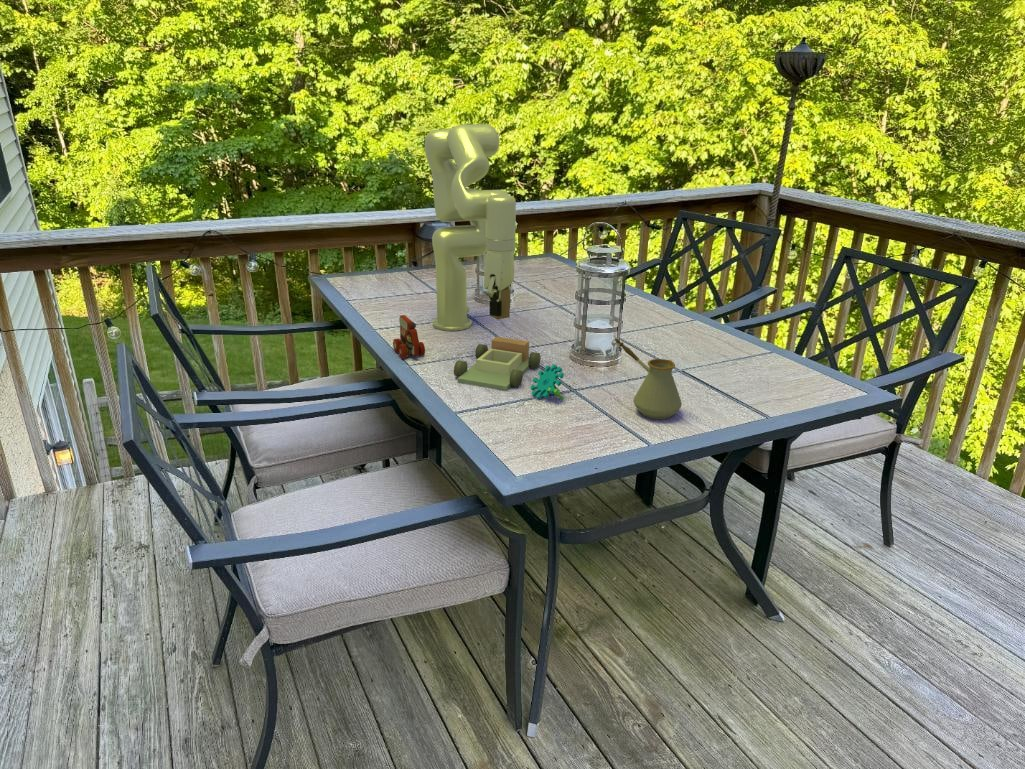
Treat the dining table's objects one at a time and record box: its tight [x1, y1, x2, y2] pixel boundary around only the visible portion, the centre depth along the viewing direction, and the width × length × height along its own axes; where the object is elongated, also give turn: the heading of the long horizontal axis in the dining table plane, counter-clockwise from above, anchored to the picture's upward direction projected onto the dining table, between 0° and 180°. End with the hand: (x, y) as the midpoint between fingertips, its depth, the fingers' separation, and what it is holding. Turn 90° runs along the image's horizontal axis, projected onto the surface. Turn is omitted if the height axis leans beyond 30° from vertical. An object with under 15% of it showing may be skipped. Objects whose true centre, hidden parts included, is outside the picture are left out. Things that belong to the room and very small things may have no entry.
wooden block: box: [489, 287, 511, 320], centre depth 194 cm, size 4×4×8 cm
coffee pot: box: [611, 337, 683, 420], centre depth 179 cm, size 21×12×15 cm, turn 39°
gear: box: [529, 363, 565, 401], centre depth 186 cm, size 11×6×10 cm
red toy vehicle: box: [392, 314, 426, 359], centre depth 211 cm, size 7×12×10 cm, turn 26°
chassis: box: [453, 335, 542, 392], centre depth 200 cm, size 22×18×6 cm
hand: (499, 311), depth 195 cm, fingers closed on wooden block, 5 cm apart
